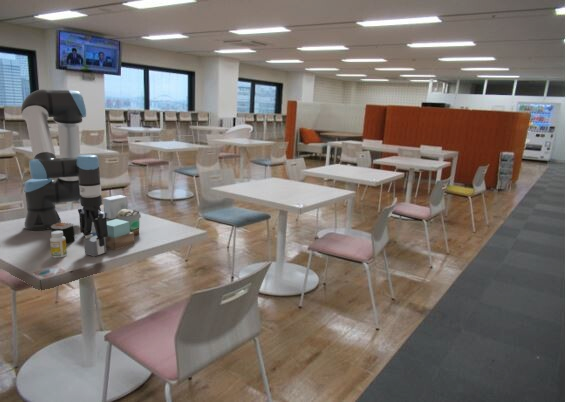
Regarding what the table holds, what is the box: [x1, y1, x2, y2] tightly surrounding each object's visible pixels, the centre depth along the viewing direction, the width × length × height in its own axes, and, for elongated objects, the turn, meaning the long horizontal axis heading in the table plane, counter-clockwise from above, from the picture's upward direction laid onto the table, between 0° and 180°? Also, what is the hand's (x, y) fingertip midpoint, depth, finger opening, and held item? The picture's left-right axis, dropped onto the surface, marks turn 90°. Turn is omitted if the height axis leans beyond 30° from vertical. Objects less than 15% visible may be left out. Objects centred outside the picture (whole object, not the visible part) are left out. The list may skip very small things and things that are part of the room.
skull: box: [115, 209, 132, 219], centre depth 201 cm, size 12×10×10 cm
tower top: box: [106, 218, 130, 238], centre depth 172 cm, size 8×8×5 cm
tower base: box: [104, 232, 136, 251], centre depth 173 cm, size 10×10×5 cm
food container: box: [119, 209, 142, 237], centre depth 185 cm, size 12×6×10 cm, turn 168°
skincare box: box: [102, 194, 129, 220], centre depth 214 cm, size 10×6×10 cm, turn 147°
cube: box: [83, 236, 107, 257], centre depth 161 cm, size 6×6×6 cm
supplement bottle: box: [49, 231, 68, 259], centre depth 158 cm, size 5×5×10 cm
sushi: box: [50, 222, 76, 245], centre depth 174 cm, size 8×8×8 cm
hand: (95, 251), depth 162 cm, fingers closed on cube, 5 cm apart
